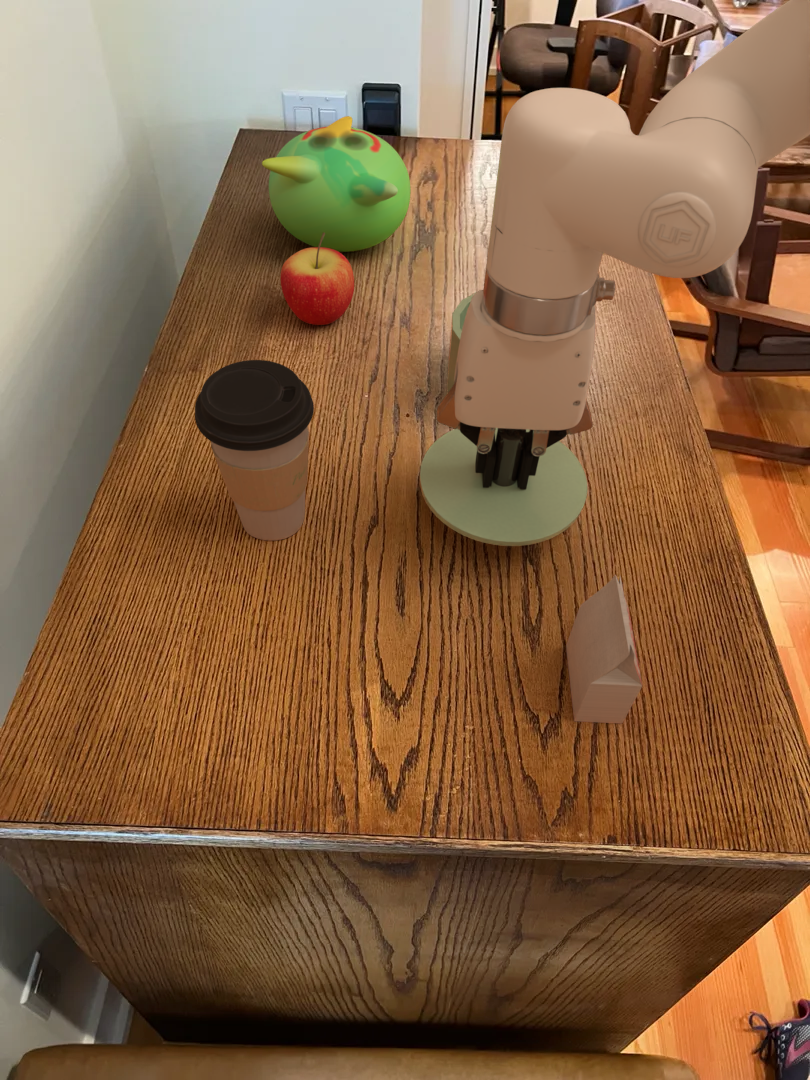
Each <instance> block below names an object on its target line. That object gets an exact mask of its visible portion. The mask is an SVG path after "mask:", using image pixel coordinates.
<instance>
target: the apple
mask: <svg viewBox="0 0 810 1080" xmlns="http://www.w3.org/2000/svg"><path fill="white" fill-rule="evenodd" d="M324 235H325V233H324V232H323V234H322V236H321V239H320V243H319V246H318V247H314V246H311V247H307V248H302V249H301V250H298V251H297V252H295V253H293V254H292V255H290V257H288V258H287V259H286V260H285V261H284V262H283V265H282V267H281V271H280V286H281V292H282V294H283V298H284V300H285V302H286V303H287V305H288V307H289V309H290V311H292V313H293V314H294V315H295V316H296V317H297V318H298V319H299V320H300V321H302V322H304V323H306V324H309V325H315V326H323V325H324V326H325V325H329V324H332V323H334V322H335V321H337V320H338V319H340V318H341V317H342V316H343V315H344V314H345V312H347V310H348V308H349V306H350V305H351V303H352V300H353V297H354V291H355V276H354V271H353V268H352V266H351V263H350V262H349V260H348V259H347V258H346V256H345V255H344V254H343V253H342V252H338V251H336V250H334V249H330V248H323V247H320V246H321V243H322V240H323V238H324Z"/></svg>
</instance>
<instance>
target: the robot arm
mask: <svg viewBox="0 0 810 1080" xmlns="http://www.w3.org/2000/svg"><path fill="white" fill-rule="evenodd" d="M630 123H631V122H630V119H629V117H628V115H627V113H626V111H624V109H623V108H622V107H621V106H620V105H619V104H618V102H616V101H614V100H613V99H611V98H610V97H607V96H605V95H602V94H600V93H597V92H594V91H590V90H587V89H581V88H575V87H573V88H572V87H550V88H544V89H542V88H541V89H539V90H538V89H537V90H534V91H532V92H529V93H527V94H525V95H523V96H522V97H521V98H519V99H518V100H517V101H516V102H515V103H514V104H513V105H512V106H511V108H510V109H509V111H508V113H507V115H506V117H505V120H504V123H503V128H502V134H501V140H500V141H501V142H500V148H499V149H500V150H499V157H498V166H497V174H496V183H495V191H494V200H493V206H492V207H493V208H492V214H491V215H492V216H491V223H490V232H489V240H488V241H489V243H488V248H487V256H486V257H487V258H486V265H485V273H484V280H483V289H480V290H478V291H476V292H474V293H475V294H474V293H473V294H474V295H473V297H472V299H471V302H470V304H469V307H468V310H467V314H466V317H465V321H464V324H463V329H462V333H461V338H460V343H459V349H458V355H457V361H456V368H455V377H454V385H453V386H452V388H451V389H450V391H449V392H448V393H446V395H445V396H444V397H443V399H442V400H441V402H440V403H439V405H437V409H436V421H437V423H439V424H441V425H443V426H445V427H448V428H451V429H452V430H453V429H458V430H460V432H461V433H462V434H463V435H464V436H465V437H466V438H468V439H469V440H470V441H471V442H472V443H473V444H475V445H476V446H477V453H476V462H475V472H476V473H482V479H483V487H485V488H489V486H491V485H492V479H493V473H494V467H495V461H496V446H495V430H496V428H507V429H529V432H526V438H525V442H524V447H523V452H522V457H521V462H520V467H519V472H518V477H517V485H518V488H520V489H526V488H527V483H528V478H529V476H535V474H536V470H537V466H538V461H539V457H540V456H542V455H544V454H545V452H546V448H548V447H549V446H551V445H553V444H555V443H556V442H558V441H560V442H561V440H563V439H565V438H566V437H567V435H570V436H572V435H574V434H579V433H583V432H587V431H589V430H591V429H592V428H593V426H594V425H593V418H592V413H591V410H590V408H589V404H588V401H587V399H588V395H589V388H590V382H591V376H592V369H593V362H594V355H595V347H596V346H595V345H596V325H597V324H596V323H597V322H596V321H597V320H596V303H597V302H600V303H601V302H603V301H612V300H613V299H614V297H615V293H616V280H614V279H605V277H600V273H599V272H600V267H601V263H602V259H603V254H604V255H607V256H609V257H611V258H613V259H616V260H618V261H620V262H621V263H624V264H627V265H628V266H632V267H634V268H636V269H639V270H640V271H644V272H646V273H648V274H649V273H650V274H653V275H656V276H659V277H665V278H671V279H689V278H696V277H700V276H703V275H706V274H709V273H710V272H713V271H715V270H717V269H719V268H720V267H721V266H723V265H724V264H725V263H726V262H728V260H729V259H731V258H732V257H733V256H734V255H735V253H736V252H737V251H738V249H739V248H740V247H741V245H742V243H743V242H744V240H745V237H746V236H747V233H748V230H749V227H750V224H751V221H752V217H753V211H754V205H755V197H756V188H757V179H758V171H759V168H760V167H762V166H763V165H765V164H766V163H769V161H770V160H772V159H774V158H775V157H777V156H779V155H780V154H781V153H783V152H785V151H786V150H788V149H789V148H791V147H792V146H794V145H796V144H798V143H800V142H801V141H803V140H804V139H805V138H808V137H809V136H810V0H788V1H786V2H785V3H783V4H781V5H780V6H778V7H777V8H776V9H775V10H773V11H771V12H770V13H769V14H767V15H766V16H765V17H763V18H762V19H760V20H759V21H758V22H756V23H755V24H754V25H752V26H751V27H749V28H748V29H747V30H745V31H744V32H743V33H742V34H740V35H739V36H737V37H736V38H735V39H733V41H731V42H730V43H728V44H727V45H726V46H724V47H723V48H722V49H721V50H719V51H718V52H717V53H716V54H714V55H712V56H711V57H710V58H709V59H707V60H706V61H705V62H704V63H702V64H701V65H700V66H698V67H697V68H695V69H694V70H693V71H692V72H690V74H688V75H687V76H686V77H685V78H683V79H682V80H681V81H679V82H678V83H677V84H676V85H675V86H674V87H672V88H671V89H670V90H669V91H668V92H667V93H666V94H665V95H664V96H663V97H662V98H661V99H660V100H659V101H658V103H657V104H655V107H654V108H653V109H652V110H651V111H650V113H648V115H647V118H646V119H645V121H644V123H643V125H642V126H641V129H640V131H639V133H638V134H637V135H636V134H635V133H634V132H633V131H632V129H631V124H630Z"/></svg>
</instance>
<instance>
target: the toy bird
mask: <svg viewBox="0 0 810 1080" xmlns="http://www.w3.org/2000/svg"><path fill="white" fill-rule="evenodd" d="M352 126H353V117H352V116H350V115H345V116H343V117H340V118H339V119H337V120H335V121H334V122H332V123H330V124H329V125H327V126H322V127H316V128H313V129H308V130H307V131H304V132H302V133H300V134H297V135H296V136H294V137H293V138H292V139H290V140H289V141H288V142H286V143H285V144H284V146H283V147H282V148H281V149H280V150H279V152H278V153H277V155H276V156H275V157H269V158H265V159H264V160H262V161H261V165H262V167H263V168H264V169H266V170H268V171H269V176H268V196H269V201H270V205H271V208H272V210H273V212H274V214H275V217H276V218H277V220H278V221H279V223H280V224H281V225H282V227H283V228H284V229H285V230H286V231H287V232H288V233H289V234H290V235H292V236H293V237H294V238H295V239H297V240H299V241H301V242H303V243H305V244H306V245H308V246H311V247H318V246H319V243H320V239H321V236H322V234H323V232H324V233H325V235H324V238H323V240H322V243H321V246H320V247H323V248H330V249H334V250H336V251H338V252H340V253H346V252H347V253H348V252H357V251H363V250H366V249H370V248H372V247H375V246H378V245H380V244H381V243H383V242H385V241H386V240H387V239H388V238H390V237H391V236H392V235H393V234H394V233H395V232H396V231H397V230H398V229H399V227H400V226H401V225H402V224H403V221H404V220H405V218H406V215H407V213H408V210H409V208H410V202H411V193H412V189H411V180H410V179H411V178H410V175H409V172H408V168H407V166H406V164H405V162H404V160H403V159H402V157H401V155H400V154H399V153H398V151H397V150H396V149H395V148H394V147H393V146H392V145H391V144H389V142H387V141H386V140H385V139H384V138H381V137H379V136H378V135H376V134H374V133H372V132H370V131H367V130H364V129H360V128H357V127H352Z"/></svg>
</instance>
